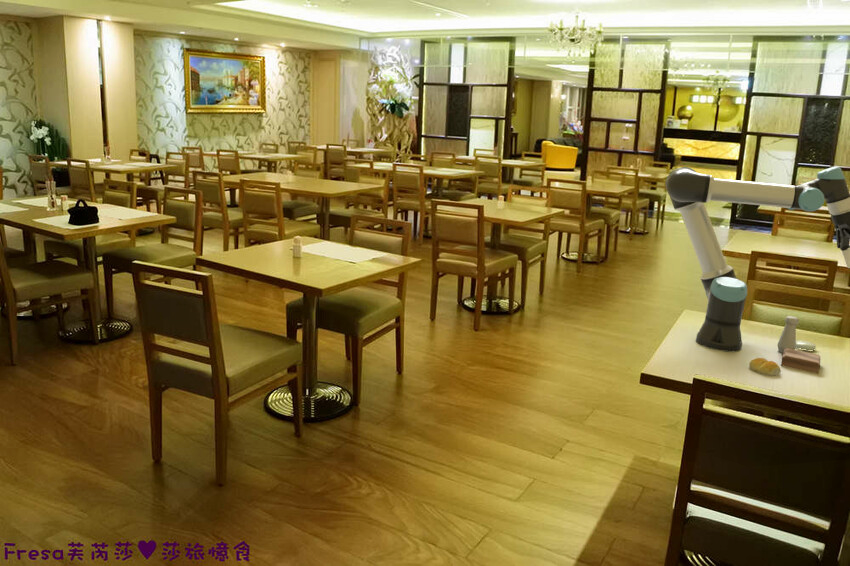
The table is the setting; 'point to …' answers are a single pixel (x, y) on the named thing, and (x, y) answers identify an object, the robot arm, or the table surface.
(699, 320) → the table surface
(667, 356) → the table surface
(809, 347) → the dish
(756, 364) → the bread roll
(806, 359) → the stand
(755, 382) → the table surface
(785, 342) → the salt shaker
